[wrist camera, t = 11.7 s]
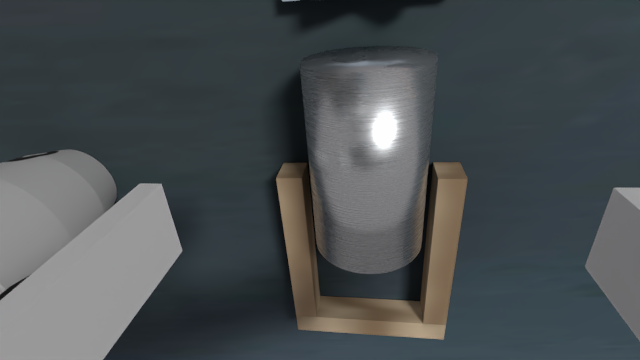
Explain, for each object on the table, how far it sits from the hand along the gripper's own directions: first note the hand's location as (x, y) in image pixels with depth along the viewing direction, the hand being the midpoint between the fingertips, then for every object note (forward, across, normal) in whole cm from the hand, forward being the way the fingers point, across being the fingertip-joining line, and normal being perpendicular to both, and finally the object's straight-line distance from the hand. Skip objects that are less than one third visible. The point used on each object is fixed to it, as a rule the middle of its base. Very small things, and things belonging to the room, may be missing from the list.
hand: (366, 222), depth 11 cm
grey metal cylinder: (+11, 0, -1) cm, 11 cm away
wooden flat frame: (+11, 0, -9) cm, 14 cm away
